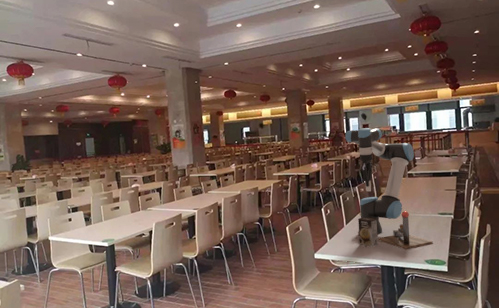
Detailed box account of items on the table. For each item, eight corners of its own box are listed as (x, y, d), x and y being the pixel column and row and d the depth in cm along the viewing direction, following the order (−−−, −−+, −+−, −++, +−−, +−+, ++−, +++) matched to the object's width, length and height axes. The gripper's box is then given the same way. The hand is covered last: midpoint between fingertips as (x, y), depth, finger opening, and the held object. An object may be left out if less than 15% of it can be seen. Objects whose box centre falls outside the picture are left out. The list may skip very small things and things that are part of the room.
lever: (392, 235, 261) (391, 205, 260) (399, 234, 261) (397, 205, 260) (404, 244, 240) (402, 212, 239) (411, 243, 240) (409, 211, 239)
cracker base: (403, 235, 266) (402, 222, 265) (432, 243, 244) (432, 229, 243) (378, 240, 258) (377, 227, 258) (406, 249, 236) (405, 235, 236)
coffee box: (359, 245, 251) (357, 218, 250) (365, 242, 255) (363, 216, 254) (372, 247, 244) (370, 220, 243) (378, 245, 248) (376, 218, 247)
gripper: (368, 155, 245) (370, 194, 249) (375, 151, 255) (378, 188, 259) (356, 155, 249) (358, 193, 253) (363, 151, 260) (366, 187, 264)
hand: (368, 191), depth 256 cm, fingers closed
